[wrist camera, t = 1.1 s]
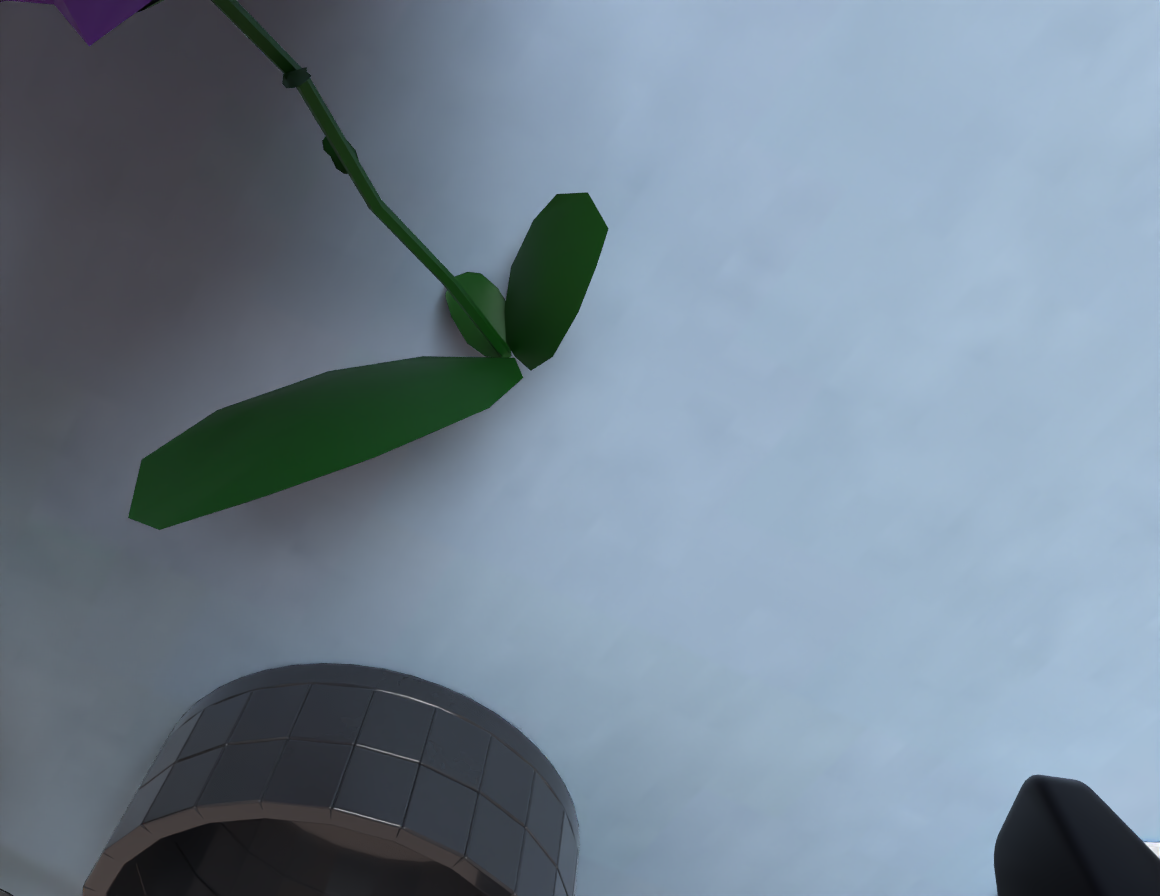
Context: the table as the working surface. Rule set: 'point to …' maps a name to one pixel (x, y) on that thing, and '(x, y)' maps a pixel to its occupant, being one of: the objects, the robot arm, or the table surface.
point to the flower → (372, 392)
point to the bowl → (343, 796)
